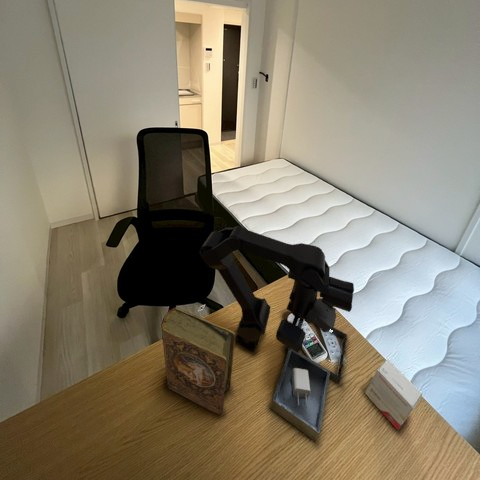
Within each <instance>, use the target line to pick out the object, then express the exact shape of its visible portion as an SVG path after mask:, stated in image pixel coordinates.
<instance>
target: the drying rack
mask: <svg viewBox="0 0 480 480" xmlns="http://www.w3.org/2000/svg"><path fill="white" fill-rule="evenodd" d="M309 323H311V324H314V323H313V322H312V321H311V320H310V322H309ZM331 330H333V332H332V333H331V334H332V335H333V336H336V337H338V338H340V339H341V346H340V353H339V359H338V364H337V372H336V373H334V372H333V371H331V370H329V371H330V377H329V380H331V381H333V382H334V383H336V384H337V385H339V384H340V383H341V380H342V373H343V372H342V371H343V368H344V359H345V354H346V343H347V341H348V334H347V333H345V332H343V331H341V330H339V329H337V328H335V327H333V328H332V329H331ZM288 351H289V347H288V346H286V345H285V350H284V352H286V353H287V354H288ZM301 354H302V355H304V354H303V353H301ZM340 354H341V355H340ZM306 357H307V358H309V357H308V356H306ZM309 359H310V360H312V359H311V358H309ZM314 362H315V363H317V362H316V361H314ZM319 365H320V366H322V365H321V364H319ZM324 368H325V369H327V368H326V367H324Z"/></svg>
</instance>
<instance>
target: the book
mask: <svg viewBox="0 0 480 480" xmlns="http://www.w3.org/2000/svg"><path fill="white" fill-rule="evenodd" d="M160 326H161V336H162V337H161V338H162V344H163V345H162V346H163V355H164V364H165V366H164V367H165V373H166V374H165V375H166V383H167V388H168V389H169V390H171V391H173V392H175V393H177V394H179V395H181V396H183V397H185V398H187V399H188V400H190V401H192V402H194V403H195V404H198V405H200V406H201V407H203V408H205V409H207V410H209V411H211V412H213V413H215V414H217V415H219V416H220V415H222V414H223V411H224V401H225V400H224V399H225V392H226V391H228V390H230V389H231V384H232V374H233V364H234V363H233V362H234V353H235V343H236V341H235V338H236V332H234V330H231V329H229V328H226V327H224V326H222V325H219V324H217V323H214V322H212V321H210V320H207V319H206V318H203V317H200V316H198V315H197V314H194V313H191V312H189V311H186V310H184V309H181V308H178V307H177V306H176V307H172V308H171V309H169V310H168V311H167V313H166V314H165V315H164V316H163V318H162V321H161V325H160Z"/></svg>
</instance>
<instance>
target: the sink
mask: <svg viewBox="0 0 480 480" xmlns="http://www.w3.org/2000/svg"><path fill="white" fill-rule="evenodd" d="M302 354H303V353H301V352H298V353H297V352H296V351H294V350H293V349H291V348H289V351H288V353H287V355H286V358H285V360H284V363H283V367H282V370H281V373H280V376H279V378H278V381H277V385H276V387H275V391H274V395H273V396H272V397H273V398H272V401H271V404H270V409H271V410H272V411H273V412H275V413H276V414H277V415H278V416H280V417H282V419H284V420H286V421H287V423H290V424H291V425H292V426H294V427H295V428H296V429H297V430H299V431H300V432H302V433H303V434H304V435H305V436H307V437H308V438H310V439H311V440H312V441H314V442H317V440H318V438H319V435H320V434H321V427H322V422H323V415H324V410H325V405H326V399H327V393H328V388H329V381H330V379H329V377H330V371H331V370H329V369H327V368H326V367H324V366H323V365H321V364H319V363H318V362H316V361H314V360H313V359H311V358H310V357H308V356H306V355H304V354H303V355H302ZM307 357H308V358H307ZM310 359H311V360H310ZM315 362H316V363H315ZM320 365H321V366H320ZM294 368H299V369H304V370H308V376H309V384H310V394H309V397H308V398H307V408H306V399H305V398H303V397H299V406H298V399H297V396H294V395H293V389H292V371H293V369H294ZM325 368H326V369H325Z"/></svg>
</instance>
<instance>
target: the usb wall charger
mask: <svg viewBox="0 0 480 480" xmlns="http://www.w3.org/2000/svg"><path fill="white" fill-rule="evenodd" d="M292 389H293V395H294V396H297V399H298V406H299V397H303V398H305V399H306V408H307V398H308V397H309V394H310V384H309V376H308V370H304V369H299V368H294V369H293V371H292Z"/></svg>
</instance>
